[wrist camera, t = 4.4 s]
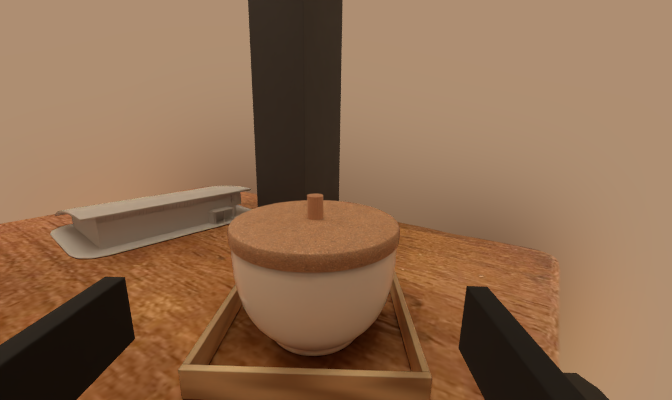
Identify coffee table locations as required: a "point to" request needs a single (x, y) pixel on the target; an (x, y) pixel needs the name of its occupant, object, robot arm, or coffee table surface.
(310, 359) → the coffee table surface
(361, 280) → the trinket box
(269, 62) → the pedestal
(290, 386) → the empty wooden frame
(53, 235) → the beige covered tray
